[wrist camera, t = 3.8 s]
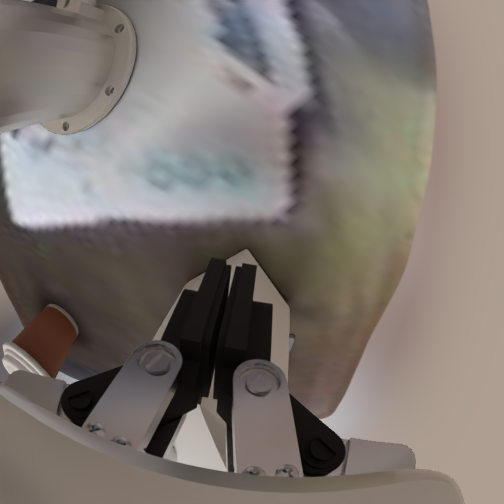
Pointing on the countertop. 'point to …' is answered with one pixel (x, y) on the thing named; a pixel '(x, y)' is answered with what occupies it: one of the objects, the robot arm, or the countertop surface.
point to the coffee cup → (42, 343)
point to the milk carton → (205, 416)
